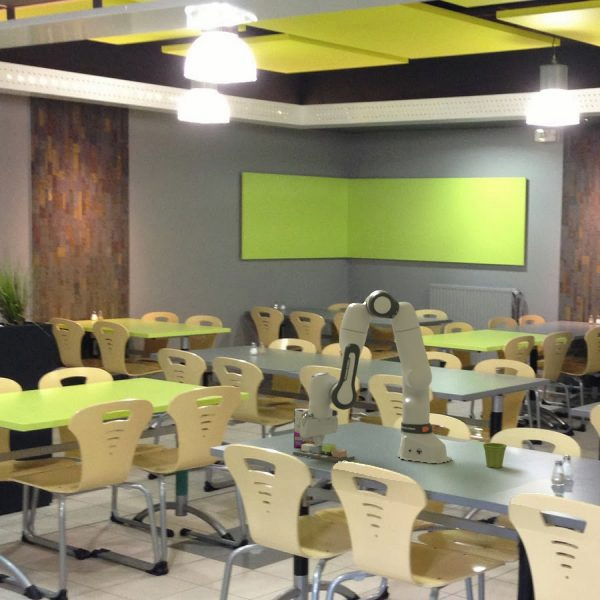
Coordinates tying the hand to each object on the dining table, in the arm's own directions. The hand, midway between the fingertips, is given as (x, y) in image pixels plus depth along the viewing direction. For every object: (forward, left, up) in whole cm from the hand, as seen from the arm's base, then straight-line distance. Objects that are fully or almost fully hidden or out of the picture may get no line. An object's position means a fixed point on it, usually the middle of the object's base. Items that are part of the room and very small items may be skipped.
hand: (318, 446), depth 454 cm
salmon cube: (-11, 0, -4) cm, 12 cm away
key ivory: (+6, 0, -3) cm, 7 cm away
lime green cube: (-6, 0, -2) cm, 6 cm away
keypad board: (-3, 0, -4) cm, 5 cm away
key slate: (0, 0, -3) cm, 3 cm away
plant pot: (-62, -34, -4) cm, 71 cm away
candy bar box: (+14, -10, -4) cm, 18 cm away
